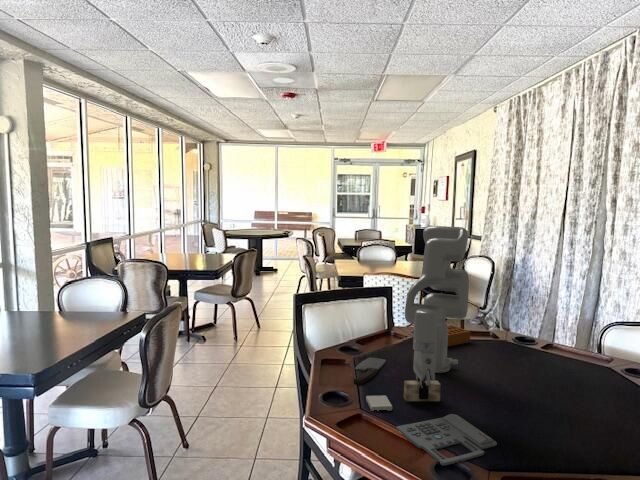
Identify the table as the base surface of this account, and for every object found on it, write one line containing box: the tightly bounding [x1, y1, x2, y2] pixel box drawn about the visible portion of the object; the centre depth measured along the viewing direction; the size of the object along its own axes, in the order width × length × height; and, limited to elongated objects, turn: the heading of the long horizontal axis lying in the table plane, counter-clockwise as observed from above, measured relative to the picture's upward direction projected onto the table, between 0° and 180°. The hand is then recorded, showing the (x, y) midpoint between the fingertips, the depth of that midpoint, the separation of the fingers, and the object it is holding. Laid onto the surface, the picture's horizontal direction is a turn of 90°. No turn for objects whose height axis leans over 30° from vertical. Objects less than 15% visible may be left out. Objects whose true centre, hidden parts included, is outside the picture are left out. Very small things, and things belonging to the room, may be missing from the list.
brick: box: [447, 325, 471, 348], centre depth 211 cm, size 25×12×6 cm, turn 121°
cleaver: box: [352, 356, 387, 385], centre depth 171 cm, size 30×10×2 cm, turn 156°
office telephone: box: [395, 413, 498, 466], centre depth 121 cm, size 23×3×20 cm
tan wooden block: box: [403, 380, 442, 402], centre depth 145 cm, size 12×3×6 cm, turn 94°
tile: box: [365, 395, 393, 412], centre depth 141 cm, size 2×8×7 cm
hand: (421, 396), depth 146 cm, fingers closed on tan wooden block, 2 cm apart
